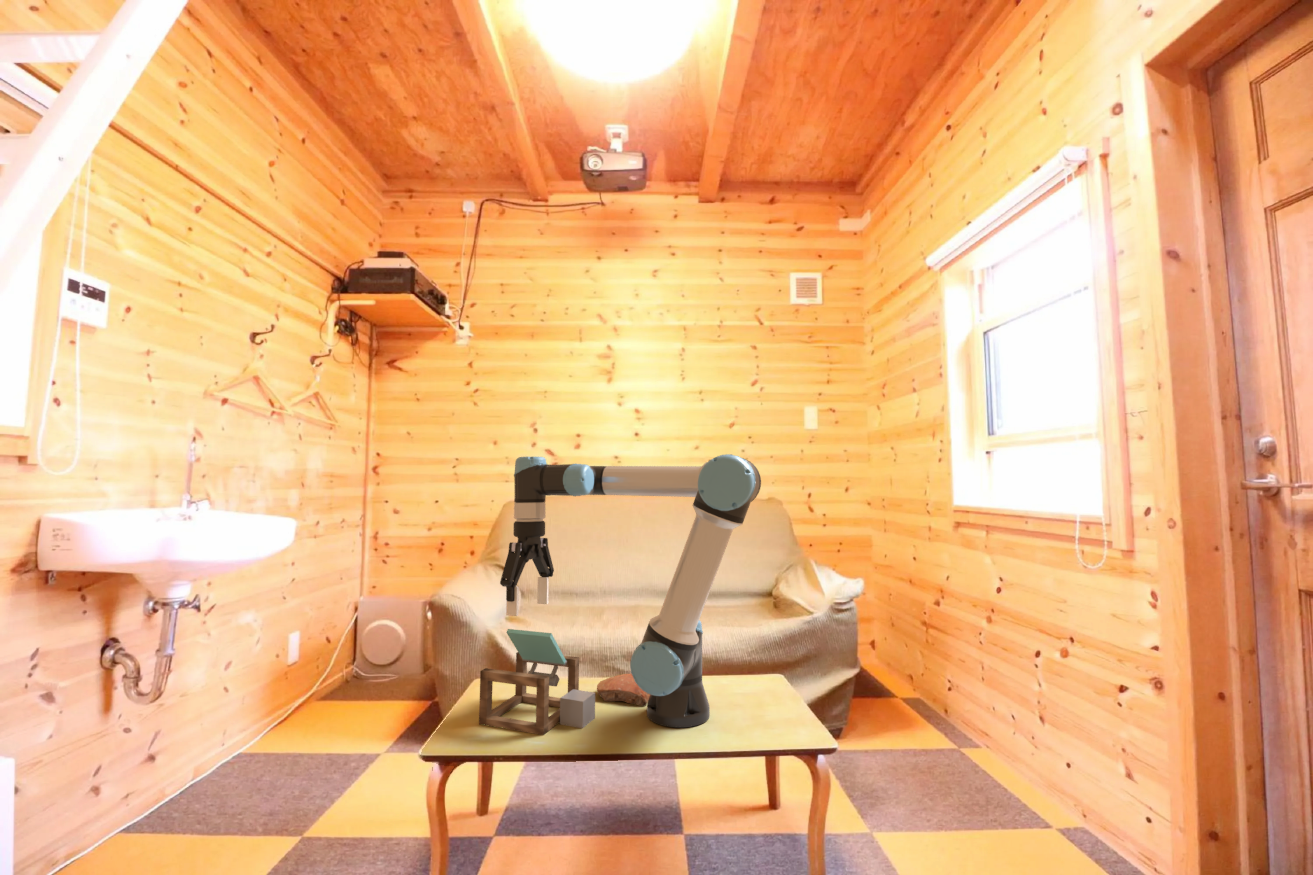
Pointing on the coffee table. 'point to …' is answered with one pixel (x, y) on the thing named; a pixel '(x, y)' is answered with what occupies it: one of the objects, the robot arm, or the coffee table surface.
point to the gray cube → (577, 708)
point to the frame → (523, 696)
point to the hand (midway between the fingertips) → (528, 609)
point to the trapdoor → (538, 651)
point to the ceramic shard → (622, 690)
